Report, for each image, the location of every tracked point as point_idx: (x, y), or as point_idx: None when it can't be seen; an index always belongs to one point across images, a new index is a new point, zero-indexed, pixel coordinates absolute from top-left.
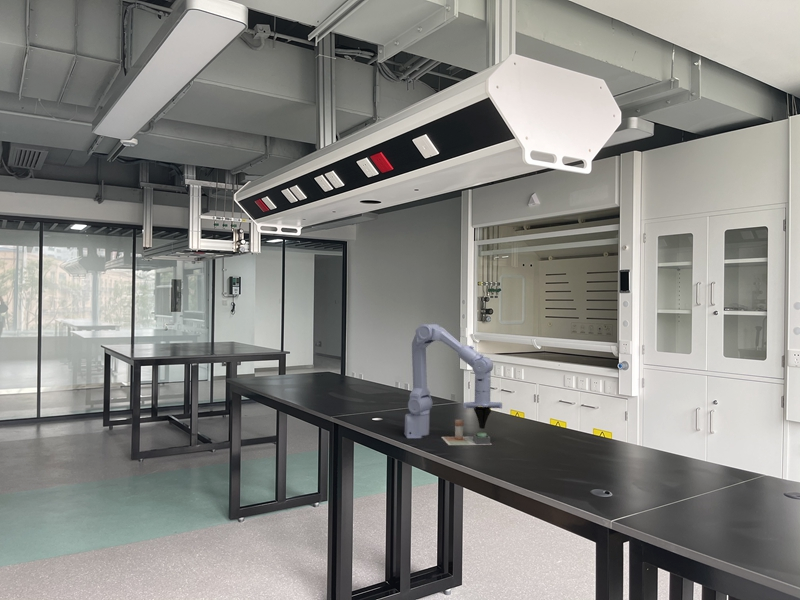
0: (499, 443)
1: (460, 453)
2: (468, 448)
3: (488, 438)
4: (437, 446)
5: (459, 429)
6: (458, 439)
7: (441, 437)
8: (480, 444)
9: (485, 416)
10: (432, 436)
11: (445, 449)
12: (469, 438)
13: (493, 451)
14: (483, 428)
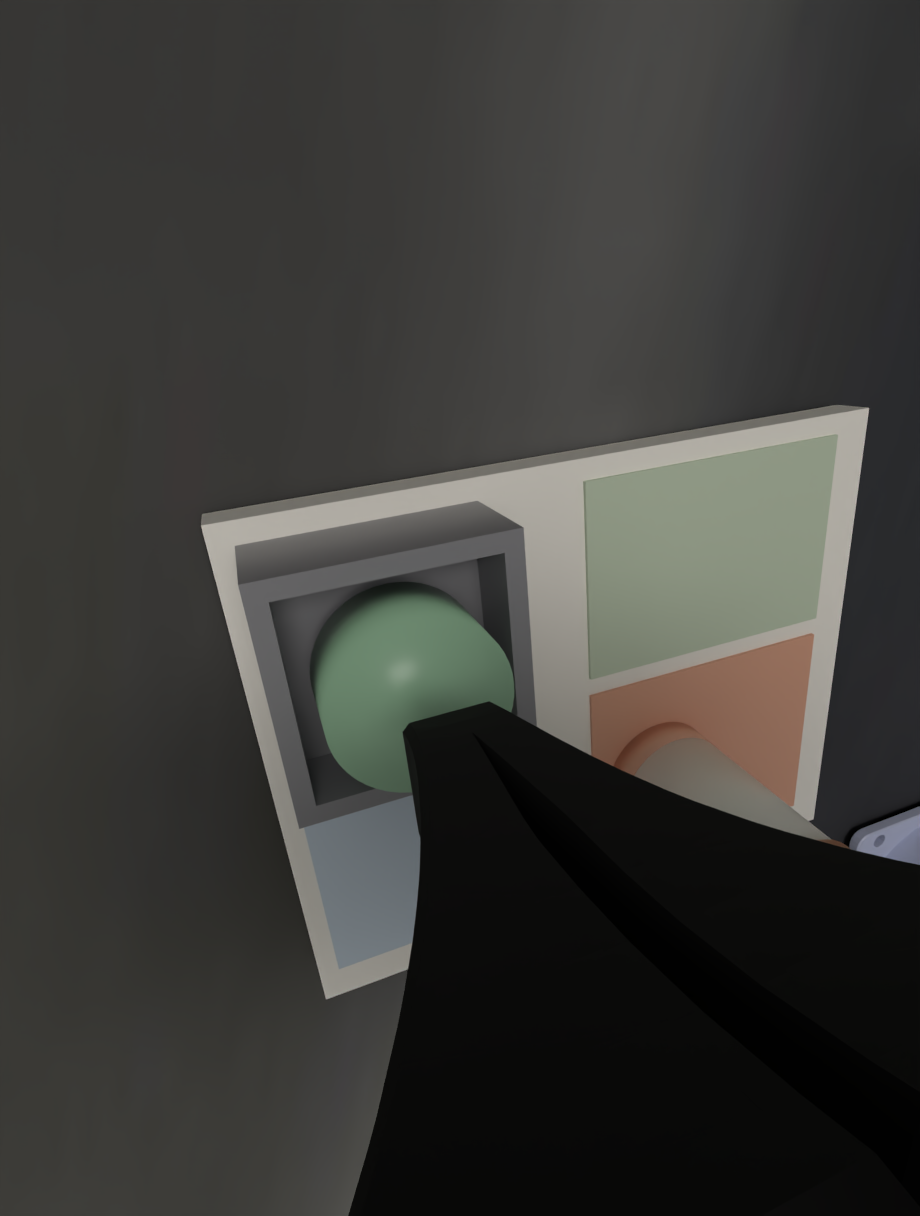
0: (43, 835)
1: (773, 78)
2: (586, 432)
3: (279, 571)
4: (906, 502)
5: (770, 810)
6: (678, 722)
7: (816, 795)
8: (418, 496)
9: (543, 937)
10: None
11: (878, 348)
12: None
13: (189, 224)
14: (430, 720)
